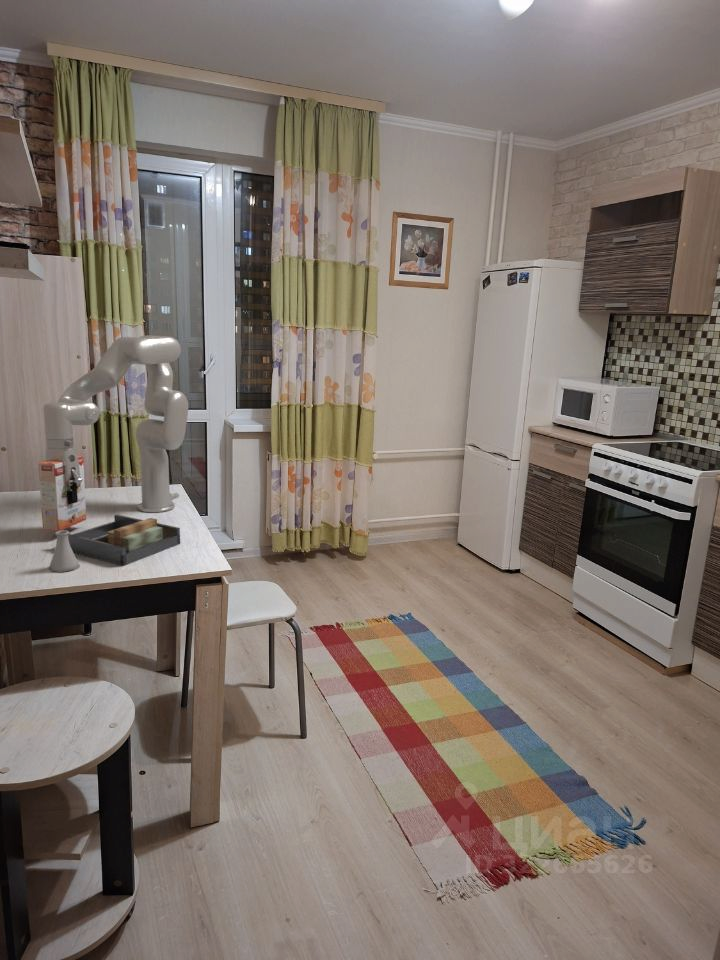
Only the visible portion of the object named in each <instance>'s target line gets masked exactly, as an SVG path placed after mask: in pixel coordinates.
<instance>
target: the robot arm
mask: <svg viewBox="0 0 720 960" xmlns="http://www.w3.org/2000/svg"><path fill="white" fill-rule="evenodd" d="M181 352H182V348H181V344H180V342H179V341H178V340H177V339H176V338H174V337H173V336H169V335H168V336H165V335H150V334H149V335H141V336H139V337H136V336H135V337H134V336H121V337H118V338H116V339H115V340H113V342H112V343H111V344H110V346H109V348H108V349H107V350H106V351H105V353H104V354H103V356H102V357H101V358H100V360H99V361H98V362H97V364H96V365H95V366H94V367H93V368H92V369H91V370H90V371H88V372H87V373H85V374H84V375H82V376H80V377H79V378H78V379H76V380H75V381H74V382H72V383H71V384H70V385H69V386H67V389H66V390H65V391H64V392H63V394H62V395H61V396H60V398H59V399H58V401H54V402H46V403H45V404H44V405H43V408H42V409H43V420H44V423H43V424H44V433H45V434H44V435H45V448H46V449H45V459H44V461H47V460H56V461H61V462H63V467H64V477H65V482H66V483H67V488H68V490H69V491H67V500H68V504H72V503H76V502H78V496H77V490H78V487H79V486H80V484H81V482H82V478H81V477H80V469H79V462H78V457H77V456H78V453H77V450H76V448H75V444H74V431H73V429H74V428H73V427H74V426H91V425H93V424H95V423H96V422H97V421H98V420H99V418H100V414H101V410H100V409H99V407H98V406H97V405H96V403H94V402H92V401H89V399H90V398H92V397H93V396H95V395H96V394H99V393H102V392H105V391H109V390H111V389H114V388H116V387H118V385H119V384H120V382H121V381H122V379H124V377H125V375H126V373H127V372H128V371H129V370H130V368H131V367H132V366H133V365H141V366H142V365H143V366H144V365H145V368H146V370H147V371H146V372H147V377H146V379H147V380H146V388H145V394H144V400H143V401H144V403H143V404H144V410H145V412H146V413H147V414H149V415H151V416H156V417H162V418H163V420H158V419H154V418H153V419H152V418H150V419H149V418H148V419H144V420H142V421H141V422H139V424H137V427H135V428H136V429H135V440H136V442H137V447H138V452H139V454H138V455H139V464H140V467H139V469H140V470H139V471H140V487H141V490H140V491H141V502H140V503H139V504H137V510H138V511H140V512H144V513H162V512H168V511H171V510H173V509H174V508H175V504H176V503H174V502H173V500H175V499H178V498H179V496H180V494H179V493H178V492H175V493H171V492H170V467H169V463H170V462H169V455H168V453H167V450H168V451H169V450H170V451H174V450H177V449H179V448H180V447H181V446H182V445H183V441H184V439H185V434H186V429H187V421H188V414H189V402H188V398H187V397H186V395H185V394H184V393H183V392H182V391H179V390H177V389H176V390H174V389H173V386H174V385H173V384H174V382H173V381H174V373H173V369H172V367H171V364H170V363H174V362H176V360H178V359H179V358H180V355H181ZM70 478H72V480H70ZM70 483H72V486H71V484H70Z"/></svg>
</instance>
